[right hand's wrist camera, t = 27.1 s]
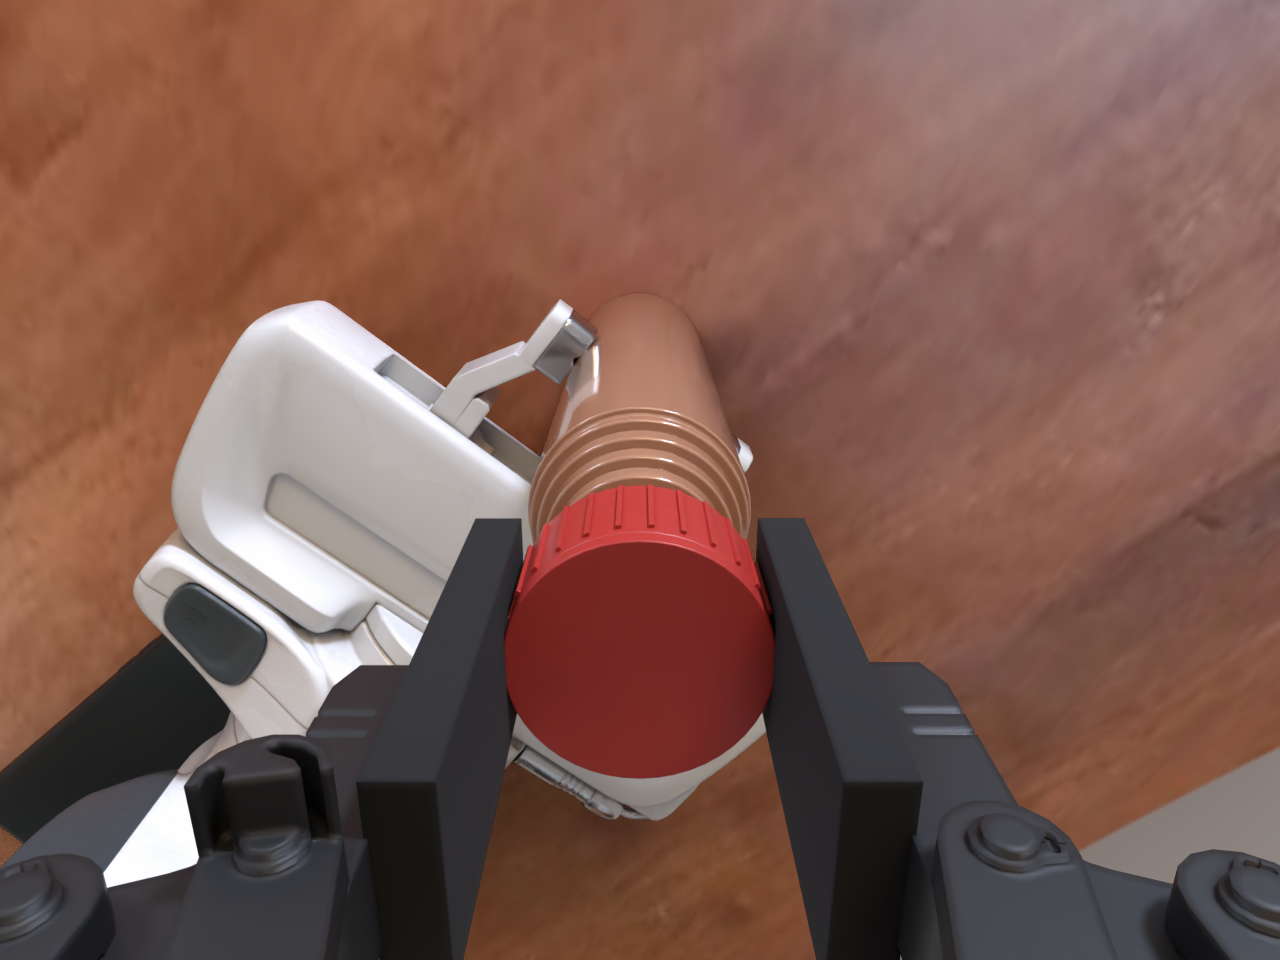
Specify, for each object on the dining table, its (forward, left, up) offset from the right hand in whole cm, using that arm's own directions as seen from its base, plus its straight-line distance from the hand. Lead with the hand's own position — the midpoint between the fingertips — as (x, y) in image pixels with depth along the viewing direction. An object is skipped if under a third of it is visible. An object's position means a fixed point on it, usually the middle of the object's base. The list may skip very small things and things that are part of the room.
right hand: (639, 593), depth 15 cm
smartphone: (+8, +26, -19) cm, 33 cm away
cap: (0, 0, +2) cm, 2 cm away
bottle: (0, 0, -19) cm, 19 cm away
